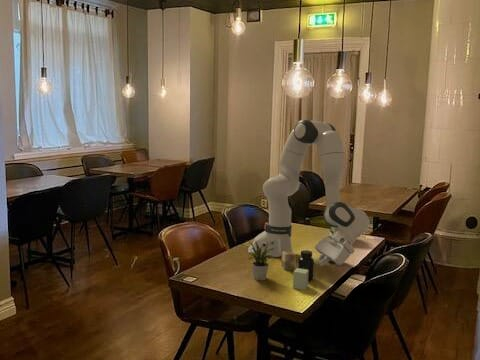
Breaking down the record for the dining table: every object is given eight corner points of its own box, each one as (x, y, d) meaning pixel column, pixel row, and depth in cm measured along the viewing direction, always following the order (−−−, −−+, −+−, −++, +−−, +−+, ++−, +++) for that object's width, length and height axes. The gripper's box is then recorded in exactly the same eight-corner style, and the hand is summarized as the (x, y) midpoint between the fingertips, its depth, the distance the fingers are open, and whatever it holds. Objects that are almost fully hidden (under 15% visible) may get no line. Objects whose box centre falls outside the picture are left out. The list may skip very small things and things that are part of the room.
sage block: (292, 288, 193) (293, 271, 192) (295, 284, 198) (296, 268, 197) (304, 290, 191) (305, 273, 190) (307, 286, 196) (308, 269, 195)
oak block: (284, 269, 215) (285, 254, 214) (281, 266, 220) (282, 251, 219) (295, 269, 216) (295, 254, 215) (292, 265, 221) (292, 251, 220)
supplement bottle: (302, 275, 209) (303, 248, 207) (316, 278, 205) (317, 251, 203) (294, 279, 204) (295, 251, 202) (308, 283, 199) (309, 255, 198)
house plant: (233, 278, 202) (234, 240, 200) (250, 269, 213) (252, 234, 211) (262, 286, 194) (264, 247, 192) (279, 276, 206) (280, 240, 203)
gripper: (325, 230, 216) (304, 252, 214) (348, 242, 196) (324, 267, 195) (333, 239, 218) (312, 261, 216) (356, 252, 198) (334, 276, 197)
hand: (318, 264), depth 205 cm, fingers closed
